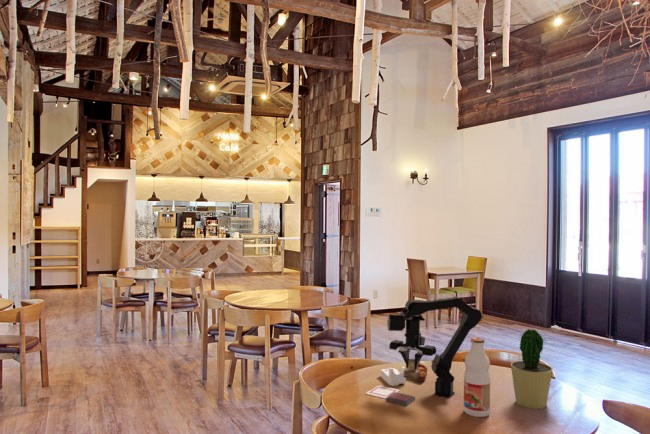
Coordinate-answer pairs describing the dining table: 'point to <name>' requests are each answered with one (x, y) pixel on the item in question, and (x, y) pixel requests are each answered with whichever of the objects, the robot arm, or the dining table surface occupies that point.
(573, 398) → the dining table surface
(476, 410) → the fruit juice
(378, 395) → the paper card
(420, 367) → the croissant
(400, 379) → the bracket
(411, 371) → the stamp
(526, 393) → the potted cactus
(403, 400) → the ink pad
